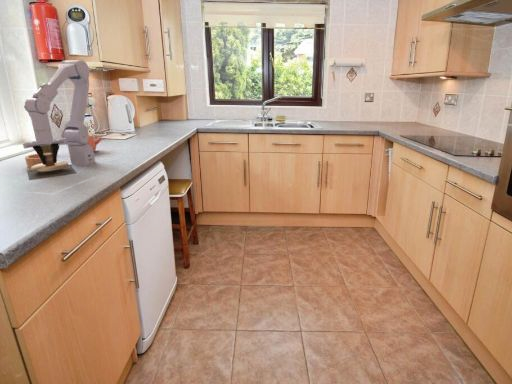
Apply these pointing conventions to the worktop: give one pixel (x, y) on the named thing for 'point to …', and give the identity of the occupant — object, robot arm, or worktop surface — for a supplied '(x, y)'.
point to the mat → (50, 173)
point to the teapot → (93, 141)
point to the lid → (49, 164)
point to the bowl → (33, 160)
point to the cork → (46, 149)
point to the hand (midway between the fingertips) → (49, 163)
